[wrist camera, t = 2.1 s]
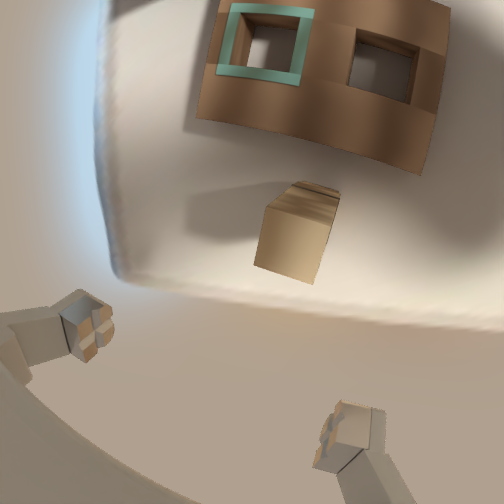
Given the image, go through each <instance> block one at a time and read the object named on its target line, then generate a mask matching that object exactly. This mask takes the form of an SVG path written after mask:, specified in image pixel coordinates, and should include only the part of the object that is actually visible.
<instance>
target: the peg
mask: <svg viewBox="0 0 504 504" xmlns="http://www.w3.org/2000/svg"><path fill="white" fill-rule="evenodd" d="M339 200H340V194H339V191H336V190H332V189H329V188H326V187H322V186H319V185H316V184H312V183H309V182H305V181H302V182H297V183H295V184H293V185H292V186H291V187H290V188H289V189H288V190H286V191H285V192H284V193H283V194H282V195H280V196H279V197H278V198H277V199H275V200H274V201H273V202H272V203H270V204H269V205H268V206H267V207H266V210H265V215H264V219H263V224H262V228H261V233H260V238H259V242H258V247H257V252H256V256H255V261H254V266H257V267H260V268H263V269H266V270H269V271H272V272H275V273H278V274H281V275H284V276H287V277H290V278H293V279H296V280H299V281H302V282H305V283H308V284H311V285H313V283H314V280H315V277H316V274H317V271H318V268H319V265H320V262H321V258H322V255H323V252H324V249H325V246H326V244H327V241H328V238H329V234H330V231H331V228H332V224H333V221H334V218H335V214H336V211H337V207H338V204H339Z"/></svg>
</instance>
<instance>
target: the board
mask: <svg viewBox="0 0 504 504" xmlns="http://www.w3.org/2000/svg"><path fill="white" fill-rule="evenodd" d="M450 12H451V8H449V7H447V6H444V5H442V4H439V3H437V2H434V1H431V0H221V1H220V4H219V8H218V12H217V16H216V21H215V25H214V29H213V33H212V38H211V42H210V47H209V51H208V56H207V61H206V66H205V71H204V76H203V81H202V86H201V91H200V97H199V102H198V108H197V114H196V118H200V119H206V120H213V121H219V122H225V123H231V124H236V125H242V126H247V127H252V128H257V129H262V130H267V131H271V132H276V133H280V134H285V135H289V136H293V137H297V138H301V139H305V140H309V141H313V142H317V143H321V144H324V145H328V146H332V147H335V148H339V149H342V150H345V151H349V152H352V153H355V154H359V155H362V156H365V157H368V158H371V159H374V160H377V161H380V162H383V163H386V164H389V165H392V166H395V167H398V168H400V169H403V170H406V171H409V172H411V173H414V174H417V175H419V176H421V173H422V170H423V166H424V163H425V159H426V155H427V152H428V148H429V144H430V140H431V136H432V132H433V127H434V123H435V118H436V114H437V109H438V104H439V99H440V93H441V88H442V82H443V76H444V69H445V63H446V55H447V47H448V38H449V27H450ZM255 26H265V27H276V28H285V29H293V30H298V32H297V37H296V42H295V46H294V51H293V56H292V61H291V65H290V70H289V73H288V72H282V71H276V70H269V69H262V68H254V67H246V66H247V61H248V57H249V52H250V47H251V43H252V38H253V34H254V29H255ZM357 42H360V43H364V44H368V45H372V46H375V47H379V48H382V49H386V50H389V51H392V52H395V53H399V54H402V55H405V56H408V57H410V58H412V64H411V70H410V76H409V81H408V87H407V92H406V97H405V101H404V103H403V102H400V101H397V100H394V99H391V98H388V97H385V96H382V95H378V94H375V93H372V92H368V91H365V90H362V89H358V88H354V87H351V86H348V84H349V79H350V74H351V69H352V64H353V59H354V54H355V49H356V43H357Z"/></svg>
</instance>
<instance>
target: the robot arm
mask: <svg viewBox="0 0 504 504" xmlns="http://www.w3.org/2000/svg"><path fill="white" fill-rule="evenodd" d="M112 315H113V313H112V307H111V306H109V305H108V304H106V303H104V302H103V301H101V300H99V299H98V298H96V297H94V296H93V295H91V294H89V293H88V292H86V291H84V290H83V289H77V290H75V291H74V292H72V293H71V294H69V295H68V296H66V297H65V298H63V299H62V300H60V301H59V302H57V303H56V304H54V305H53V306H51V307H50V308H49V307H47V306H45V307H38V308H31V309H25V310H18V311H12V312H4V313H0V504H200V503H198V502H196V501H193V500H191V499H189V498H187V497H184V496H182V495H180V494H178V493H176V492H174V491H172V490H170V489H168V488H166V487H164V486H162V485H160V484H158V483H156V482H154V481H153V480H151V479H149V478H147V477H145V476H144V475H142V474H140V473H138V472H137V471H135V470H133V469H131V468H130V467H128V466H126V465H125V464H123V463H122V462H120V461H118V460H117V459H115V458H113V457H112V456H111V455H109V454H108V453H106V452H105V451H103V450H102V449H100V448H99V447H97V446H96V445H95V444H93V443H92V442H90V441H89V440H88V439H86V438H85V437H84V436H82V435H81V434H80V433H78V432H77V431H76V430H74V429H73V428H72V427H70V426H69V425H68V424H67V423H66V422H64V421H63V420H62V419H61V418H59V417H58V416H57V415H56V414H55V413H53V412H52V411H51V410H50V409H49V408H48V407H47V406H45V405H44V404H43V403H42V402H41V401H40V400H39V399H38V398H37V397H35V396H34V395H33V393H31V392H30V391H29V390H28V389H27V388H26V387H25V385H26V384H28V383H29V382H30V381H31V380H32V374H31V372H30V369H29V367H30V366H34V365H37V364H40V363H43V362H47V361H50V360H53V359H56V358H59V357H62V356H65V355H69V354H70V353H71V354H73V355H74V356H75V357H77V358H78V359H80V360H81V361H83V362H84V363H87V362H88V361H89V360H90V359H91V358H93V357H94V356H95V355H96V354H97V352H98V348H100V347H104V346H106V345H107V344H108V343H109V342H110V341H111V338H112V337H113V334H114V324H113V322H112V320H111V318H110V317H111V316H112ZM385 437H386V412H385V411H384V410H380V409H376V408H372V407H368V406H364V405H360V404H356V403H352V402H348V401H345V400H340V401H339V402H338V403H337V405H336V406H335V411H334V413H332V414H330V415H329V417H328V418H327V420H326V422H325V424H324V426H323V428H322V431H321V435H320V442H321V444H322V445H321V446H320V447H319V448H318V450H317V451H316V455H315V459H314V463H313V468H315V469H319V470H323V471H327V472H330V473H334V474H337V479H338V482H339V485H340V487H341V491H342V493H343V496H344V500H345V503H346V504H417V503H416V501H415V500H414V498H413V496H412V495H411V493H410V491H409V489H408V487H407V485H406V484H405V482H404V480H403V478H402V477H401V475H400V473H399V471H398V470H397V468H396V466H395V464H394V463H393V461H392V459H391V457H390V455H389V454H386V453H385Z"/></svg>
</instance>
